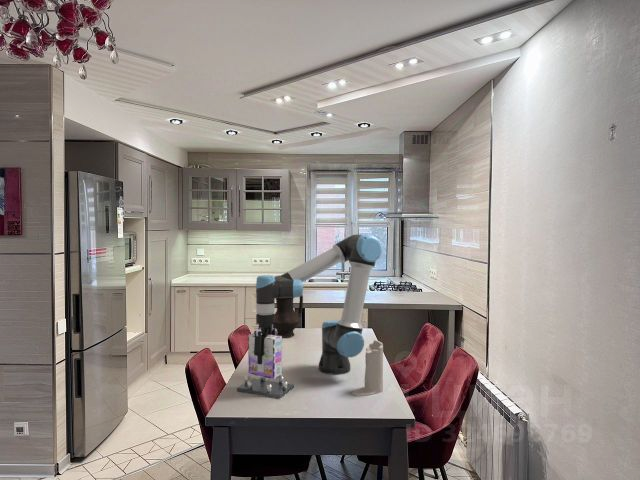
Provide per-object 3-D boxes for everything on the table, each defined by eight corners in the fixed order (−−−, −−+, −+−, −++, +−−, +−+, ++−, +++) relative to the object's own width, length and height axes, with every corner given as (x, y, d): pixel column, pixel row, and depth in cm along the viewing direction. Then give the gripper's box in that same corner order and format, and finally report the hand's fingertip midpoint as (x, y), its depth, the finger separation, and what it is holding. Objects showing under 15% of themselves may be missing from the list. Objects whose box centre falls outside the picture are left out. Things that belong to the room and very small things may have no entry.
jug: (275, 341, 251) (275, 290, 251) (266, 334, 268) (266, 287, 268) (308, 337, 260) (308, 288, 259) (297, 331, 277) (297, 285, 276)
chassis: (293, 388, 176) (293, 377, 176) (280, 398, 165) (280, 387, 165) (252, 381, 184) (252, 371, 184) (237, 391, 173) (236, 380, 173)
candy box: (282, 375, 173) (282, 335, 173) (273, 380, 169) (273, 338, 168) (257, 369, 181) (257, 331, 181) (247, 373, 176) (247, 334, 176)
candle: (348, 391, 173) (348, 342, 172) (375, 385, 179) (375, 338, 179) (358, 397, 166) (358, 347, 166) (386, 391, 173) (386, 342, 173)
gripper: (269, 308, 184) (269, 361, 185) (244, 316, 167) (244, 375, 167) (284, 310, 181) (284, 363, 182) (261, 318, 164) (261, 377, 164)
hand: (265, 368), depth 175 cm, fingers closed on candy box, 6 cm apart
